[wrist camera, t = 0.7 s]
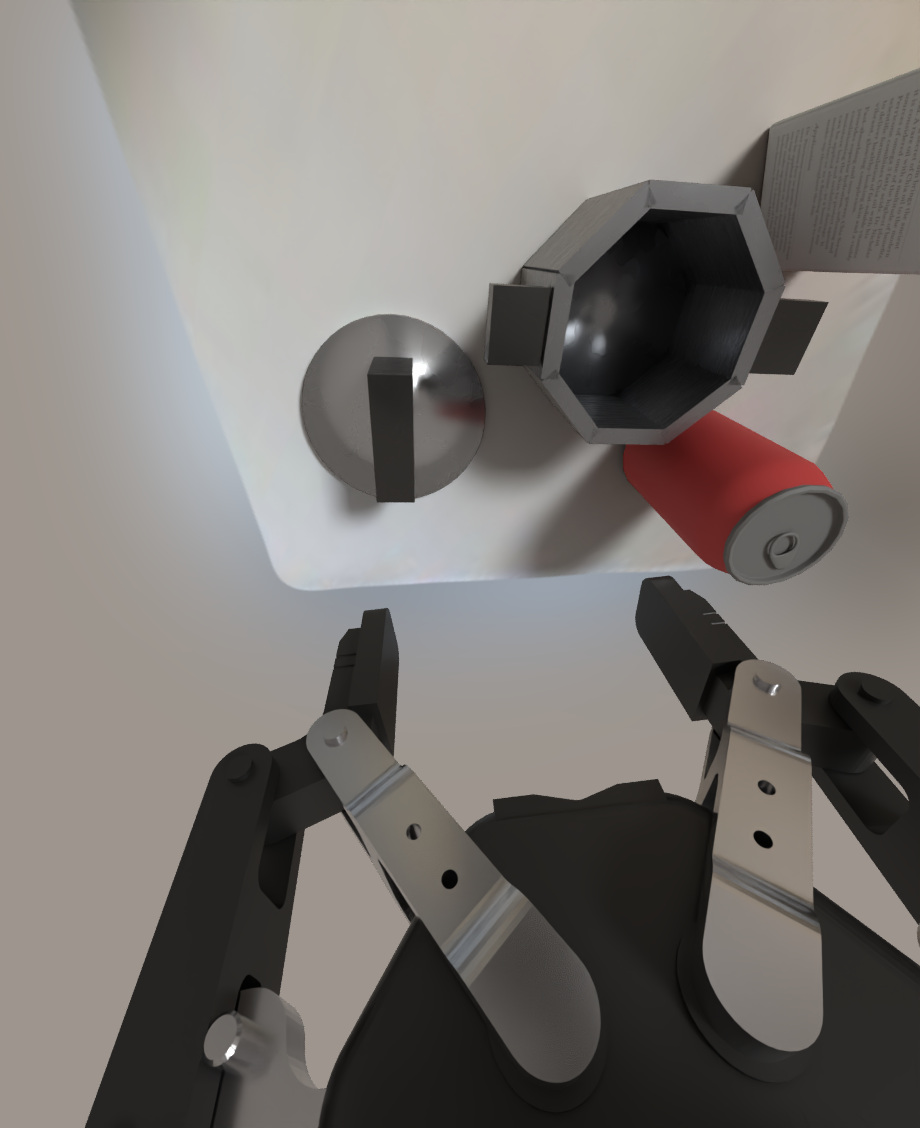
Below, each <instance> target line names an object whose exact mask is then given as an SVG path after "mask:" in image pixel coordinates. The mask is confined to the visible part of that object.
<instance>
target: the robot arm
mask: <svg viewBox="0 0 920 1128" xmlns="http://www.w3.org/2000/svg"><path fill="white" fill-rule="evenodd" d="M635 620H636V627H637V630H638V633H639V635H640V637H641V638H642V640H643V642H644V643H645V645H646V646H647V648H648V650H649V651H650V653H651V655H652V656H653V658H654V660H655V661H656V663H657V665H658V666H659V668H660V669H661V671H662V673H663V674H664V676H665V678H666V679H667V681H668V683H669V684H670V686H671V687H672V689H673V691H674V692H675V694H676V696H677V697H678V699H679V700H680V702H681V704H682V705H683V707H684V709H685V710H686V712H687V714H688V715H689V717H690V718H691V720H692V721H698V720H707V719H708V720H709V722H710V723H711V725H712V729H711V731H710V735H709V740H708V745H707V751H706V756H705V761H704V766H703V772H702V777H701V782H700V787H699V791H698V794H697V798H696V801H695V802H693V801H691V800H689V799H686V798H683V797H681V796H678V795H674V794H670V793H664V791H663V789H662V787H661V785H660V783H659V781H658V779H655V780H646V781H638V782H630V783H622V784H616V785H614V786H612V787H610V788H607V789H605V790H603V791H600V792H598V793H596V794H594V795H591V796H589V797H587V798H584V799H582V800H569V799H563V798H555V797H548V796H541V795H526V796H518V797H509V798H502V799H493V805H494V812H493V813H491V814H488V815H486V816H484V817H483V818H481V819H480V820H478V821H476V822H475V823H474V824H473V825H472V826H470V827H469V828H468V829H467V830H466V831H464V830H463V829H462V828H461V827H460V825H459V824H458V823H457V822H456V821H455V820H454V818H453V817H452V816H451V815H450V814H449V812H448V811H447V810H446V809H445V808H444V807H443V805H442V804H441V803H440V802H439V801H438V800H437V798H436V797H435V796H434V795H433V794H432V793H431V791H430V790H429V789H428V788H427V787H426V786H425V784H424V783H423V782H422V781H421V780H420V779H419V777H418V776H417V775H416V774H415V773H414V772H413V771H412V770H411V768H409V767H408V766H407V765H403V766H401V765H400V764H399V763H398V762H397V761H396V760H395V759H394V742H395V740H394V739H395V723H396V705H397V688H398V670H399V652H398V645H397V640H396V636H395V632H394V627H393V623H392V619H391V615H390V612H389V609H388V608H384V609H375V610H367V611H364V613H363V618H362V624H361V628H355V629H348V631H347V632H346V634H345V635H344V636H343V638H342V639H341V640H340V642H339V646H338V650H337V655H336V657H337V658H336V659H335V664H334V670H333V673H332V677H331V682H330V686H329V691H328V695H327V700H326V704H325V709H324V713H323V716H321V717H320V718H319V719H318V720H317V721H316V722H315V723H314V724H313V725H312V726H311V728H310V730H309V732H308V734H307V735H305V736H304V737H302V738H301V739H299V740H297V741H295V742H292V743H290V744H287V745H285V746H283V747H280V748H278V749H275V750H273V751H269V749H268V748H267V747H265V746H264V745H261V744H247V745H244V746H241V747H239V748H237V749H235V750H233V751H231V752H230V753H229V754H227V755H226V756H225V757H224V758H223V759H222V760H221V761H220V762H219V763H218V764H217V766H216V767H215V769H214V771H213V772H212V775H211V777H210V780H209V783H208V786H207V788H206V791H205V794H204V797H203V800H202V802H201V805H200V808H199V811H198V814H197V816H196V819H195V822H194V824H193V828H192V830H191V833H190V836H189V838H188V841H187V844H186V847H185V850H184V853H183V855H182V858H181V861H180V864H179V866H178V869H177V872H176V875H175V877H174V880H173V883H172V886H171V889H170V892H169V895H168V897H167V900H166V903H165V906H164V908H163V911H162V914H161V917H160V919H159V922H158V925H157V928H156V931H155V933H154V936H153V939H152V942H151V945H150V947H149V950H148V953H147V956H146V958H145V962H144V964H143V967H142V970H141V972H140V975H139V978H138V981H137V984H136V986H135V989H134V992H133V995H132V997H131V1000H130V1003H129V1006H128V1009H127V1011H126V1014H125V1017H124V1020H123V1023H122V1025H121V1028H120V1031H119V1034H118V1037H117V1039H116V1042H115V1045H114V1048H113V1050H112V1053H111V1056H110V1059H109V1062H108V1064H107V1067H106V1070H105V1073H104V1076H103V1078H102V1081H101V1084H100V1087H99V1089H98V1092H97V1095H96V1098H95V1101H94V1104H93V1106H92V1109H91V1112H90V1115H89V1117H88V1120H87V1123H86V1126H85V1128H920V966H919V965H918V964H917V963H915V962H914V961H913V960H911V959H910V958H909V957H907V956H906V955H904V954H903V953H901V952H900V951H899V950H897V949H896V948H895V947H894V946H892V945H891V944H890V943H888V942H887V941H886V940H884V939H883V938H882V937H880V936H879V935H877V934H876V933H875V932H873V931H872V930H871V929H870V928H868V927H867V926H865V925H864V924H863V923H861V922H860V921H859V920H857V919H856V918H855V917H853V916H852V915H851V914H849V913H848V912H846V911H845V910H844V909H842V908H841V907H840V906H839V905H837V904H836V903H834V902H833V901H832V900H830V899H829V898H828V897H826V896H825V895H824V894H822V893H821V892H820V891H818V890H817V889H816V888H814V887H813V849H812V848H813V846H812V777H813V778H814V779H815V781H816V782H817V784H818V785H819V786H820V788H821V789H822V790H823V792H824V793H825V795H826V796H827V798H828V799H829V800H830V802H831V803H832V805H833V806H834V807H835V809H836V810H837V812H838V813H839V814H840V816H841V817H842V818H843V820H844V821H845V823H846V824H847V825H848V827H849V828H850V830H851V831H852V833H853V834H854V835H855V837H856V838H857V840H858V841H859V842H860V844H861V845H862V847H863V848H864V849H865V851H866V852H867V853H868V855H869V856H870V858H871V859H872V861H873V862H874V863H875V865H876V866H877V867H878V869H879V870H880V872H881V873H882V875H883V876H884V877H885V879H886V880H887V882H888V883H889V884H890V886H891V887H892V889H893V890H894V891H895V893H896V894H897V896H898V897H899V898H900V899H901V901H902V902H903V904H904V905H905V907H906V908H907V909H908V911H909V912H910V914H911V915H912V917H913V918H914V919H915V921H916V922H917V924H918V925H919V926H918V930H917V939H918V943H919V947H920V707H919V706H918V705H917V704H916V703H915V702H914V701H913V700H912V699H910V697H909V696H907V694H905V693H904V692H903V691H902V690H901V689H900V688H898V687H897V686H895V685H894V684H892V683H890V682H888V681H886V680H884V679H882V678H880V677H877V676H874V675H871V674H866V673H861V672H850V673H845V674H843V675H841V676H840V677H839V679H838V680H837V682H836V683H835V685H827V684H820V683H813V682H805V681H799V680H797V679H796V678H795V677H794V676H793V675H792V674H791V673H790V672H788V671H787V670H786V669H784V668H782V667H781V666H778V665H776V664H774V663H771V662H768V661H764V660H758V659H757V658H756V656H755V655H754V654H753V653H752V652H751V651H750V650H749V648H747V646H746V645H745V644H744V643H743V642H742V640H741V639H740V638H739V637H738V636H737V635H736V634H735V632H734V631H733V630H732V629H731V628H730V627H729V626H728V624H725V621H724V620H723V619H722V618H721V617H720V615H719V614H716V611H715V610H714V609H713V607H712V606H711V605H710V604H709V603H708V602H707V601H706V600H705V599H704V598H702V597H701V596H699V595H697V594H696V593H694V592H693V591H691V590H683V589H682V588H681V587H680V586H679V584H678V583H677V582H676V581H675V579H674V578H673V577H671V576H662V577H653V578H646V579H644V580H643V582H642V585H641V590H640V595H639V600H638V605H637V610H636V616H635ZM876 758H878V759H879V761H880V762H881V763H882V764H883V765H884V766H885V768H886V769H887V770H888V771H889V772H890V773H891V774H892V775H893V777H894V778H895V779H896V780H897V781H898V782H899V783H900V785H901V786H902V787H903V789H904V790H905V792H906V794H907V796H908V799H909V801H908V800H907V799H906V798H905V797H904V796H903V794H902V793H901V792H900V791H899V790H898V788H897V787H896V786H895V785H894V784H893V783H892V781H891V780H890V779H889V778H888V777H887V776H886V774H885V773H884V772H883V771H882V770H881V769H880V768H879V766H878V765H877V764H876V763H875V762H874V761H875V760H876ZM339 812H340V813H341V814H342V816H343V817H344V819H345V820H346V822H347V824H348V825H349V827H350V828H351V830H352V832H353V833H354V835H355V836H356V838H357V839H358V841H359V843H360V844H361V846H362V847H363V849H364V851H365V852H366V854H367V855H368V856H369V858H370V860H371V862H372V863H373V865H374V866H375V868H376V870H377V871H378V873H379V875H380V877H381V879H382V880H383V882H384V884H385V885H386V887H387V889H388V890H389V892H390V894H391V895H392V897H393V898H394V900H395V902H396V903H397V905H398V906H399V908H400V910H401V911H402V913H403V914H404V916H405V918H406V919H407V921H408V922H409V924H410V926H409V928H408V930H407V931H406V933H405V935H404V937H403V939H402V941H401V943H400V944H399V946H398V948H397V950H396V952H395V953H394V955H393V957H392V959H391V961H390V963H389V964H388V967H387V968H386V970H385V972H384V974H383V976H382V977H381V979H380V981H379V983H378V985H377V986H376V988H375V990H374V992H373V994H372V996H371V997H370V999H369V1001H368V1003H367V1005H366V1006H365V1008H364V1010H363V1012H362V1014H361V1016H360V1017H359V1019H358V1021H357V1023H356V1025H355V1027H354V1028H353V1030H352V1032H351V1034H350V1036H349V1037H348V1039H347V1041H346V1043H345V1045H344V1047H343V1049H342V1050H341V1052H340V1054H339V1056H338V1059H337V1061H336V1063H335V1066H334V1068H333V1071H332V1073H331V1076H330V1079H329V1082H328V1085H327V1088H324V1089H318V1088H317V1087H316V1086H315V1085H314V1083H313V1082H312V1080H311V1078H310V1076H309V1074H308V1070H307V1066H306V1061H305V1032H304V1026H303V1022H302V1019H301V1017H300V1015H299V1013H298V1012H297V1010H296V1009H295V1008H294V1007H293V1006H291V1005H290V1004H289V1003H287V1002H286V1001H285V1000H283V999H282V998H281V997H279V994H280V988H281V981H282V975H283V968H284V962H285V954H286V948H287V942H288V935H289V928H290V922H291V915H292V909H293V902H294V896H295V890H296V883H297V877H298V870H299V864H300V857H301V851H302V844H303V837H304V831H305V829H306V828H308V827H310V826H312V825H314V824H316V823H318V822H320V821H322V820H324V819H326V818H329V817H331V816H332V815H335V814H337V813H339Z"/></svg>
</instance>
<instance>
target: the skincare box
mask: <svg viewBox="0 0 920 1128" xmlns="http://www.w3.org/2000/svg"><path fill="white" fill-rule="evenodd" d="M760 209H761V212H762V215H763V218H764V221H765V224H766V227H767V230H768V233H769V235H770V238H771V241H772V244H773V247H774V250H775V253H776V256H777V259H778V262H779V265H780V268H781V270H784V271H813V272H844V273H881V274H918V275H919V274H920V68H918V69H915V70H912V71H910V72H907V73H905V74H902V75H899V76H897V77H894V78H892V79H889V80H886V81H884V82H881V83H878V84H876V85H873V86H870V87H868V88H865V89H862V90H860V91H857V92H854V93H852V94H849V95H846V96H844V97H841V98H839V99H836V100H833V101H831V102H828V103H825V104H823V105H820V106H818V107H815V108H813V109H810V110H807V111H804V112H802V113H799V114H796V115H794V116H791V117H788V118H786V119H783V120H781V121H779V122H777V123H775V124H773V125H772V126H771V127H770V130H769V140H768V148H767V157H766V165H765V174H764V182H763V190H762V199H761V207H760Z"/></svg>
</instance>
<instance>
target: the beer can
mask: <svg viewBox="0 0 920 1128" xmlns="http://www.w3.org/2000/svg"><path fill="white" fill-rule="evenodd" d="M623 470H624V472H625V475H626V477H627V480H628V481H629V482H630V483H631V484H632V486H633V487H634V488H635V489H636V490H637V491H638V492H639V493H640V494H641V495H642V496H643V497H644V498H645V500H646V501H647V502H648V503H649V504H650V505H651V506H652V507H653V508H654V509H655V510H656V511H657V513H658V514H659V515H660V516H661V517H662V518H663V519H664V520H665V521H666V522H667V523H668V524H669V525H670V527H671V528H672V529H673V530H674V531H675V532H676V533H677V534H678V535H679V536H680V537H681V538H682V539H683V541H684V542H685V543H686V544H687V545H688V546H689V547H690V548H691V549H692V550H693V551H694V552H695V553H696V554H697V555H698V556H699V557H700V558H701V559H702V560H703V561H704V562H705V563H706V564H708V565H710V566H711V567H713V568H715V569H718V570H720V571H723V572H725V573H728V574H730V575H731V576H732V577H733V578H734V579H736V581H739V582H742V583H745V584H748V585H768V584H772V583H776V582H781V581H785V580H787V579H789V578H792V577H794V576H796V575H799V574H801V573H802V572H804V571H805V570H807V569H808V568H810V567H812V566H813V565H815V564H816V563H817V562H819V561H820V560H821V559H822V558H823V557H824V556H825V555H826V554H827V553H828V552H830V550H832V548H833V547H834V546H835V544H836V543H837V541H838V540H839V539H840V537H841V536H842V534H843V531H844V529H845V526H846V523H847V520H848V503H847V502H846V500H845V499H844V497H843V496H842V494H841V493H840V492H838V491H836V490H834V489H833V487H832V486H831V484H830V483H829V481H828V480H827V478H826V477H825V475H824V474H823V472H822V471H821V470H820V469H819V468H818V467H817V466H816V465H815V464H814V463H812V462H810V461H808V460H806V459H804V458H803V457H801V456H799V455H797V454H795V453H793V452H791V451H789V450H788V449H786V448H784V447H782V446H780V445H778V444H776V443H774V442H772V441H771V440H769V439H767V438H765V437H763V436H761V435H759V434H757V433H756V432H754V431H752V430H750V429H748V428H746V427H744V426H742V425H741V424H739V423H737V422H735V421H733V420H731V419H729V418H727V417H726V416H724V415H722V414H720V413H718V412H716V411H714V410H712V411H710V412H709V413H708V414H706V415H705V416H704V417H702V418H701V419H700V420H698V421H697V422H696V423H694V424H693V425H692V426H690V427H689V428H688V429H686V430H685V431H684V432H682V433H681V434H680V435H678V436H677V437H676V438H674V439H673V440H671V441H670V442H669V443H667V444H666V443H665V444H664V445H639V444H626V447H625V450H624V454H623Z"/></svg>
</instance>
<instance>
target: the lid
mask: <svg viewBox="0 0 920 1128" xmlns="http://www.w3.org/2000/svg"><path fill="white" fill-rule="evenodd" d="M302 410H303V418H304V422H305V426H306V430H307V433H308V435H309V438H310V441H311V442H312V444H313V446H314V448H315V450H316V452H317V453H318V455H319V456H320V458H321V459H322V461H323V462H324V463H325V464H326V465H327V466H328V468H329V469H330V470H331V471H332V472H333V473H335V474H336V475H337V476H338V477H339V478H340V479H342V480H343V481H344V482H346V483H347V484H349V485H351V486H352V487H354V488H356V489H358V490H360V491H362V492H365V493H367V494H370V495H374V496H376V499H377V502H415V498H417V497H422V496H425V495H428V494H431V493H433V492H436V491H438V490H440V489H442V488H443V487H445V486H447V485H448V484H450V483H451V482H452V481H453V480H455V479H456V478H457V477H458V476H459V475H460V474H461V473H462V472H463V471H464V470H465V469H466V467H467V466H468V465H469V464H470V462H471V461H472V459H473V457H474V455H475V454H476V452H477V449H478V447H479V445H480V442H481V438H482V435H483V431H484V424H485V403H484V395H483V391H482V387H481V384H480V381H479V379H478V376H477V373H476V371H475V369H474V368H473V366H472V364H471V362H470V360H469V359H468V357H467V356H466V355H465V353H464V352H463V350H462V349H461V348H460V347H459V346H458V345H457V344H456V343H455V342H454V341H453V340H452V339H451V338H450V337H449V336H447V335H446V334H445V333H444V332H442V331H441V330H439V329H438V328H436V327H434V326H433V325H431V324H429V323H426V322H424V321H422V320H419V319H416V318H412V317H409V316H405V315H396V314H378V315H373V316H368V317H364V318H361V319H358V320H355V321H353V322H351V323H349V324H347V325H345V326H343V327H342V328H340V329H339V330H338V331H336V332H335V333H334V334H333V335H331V336H330V337H329V338H328V339H327V341H326V342H325V343H324V344H323V345H322V346H321V347H320V349H319V350H318V351H317V353H316V354H315V356H314V357H313V359H312V361H311V363H310V365H309V367H308V371H307V374H306V377H305V380H304V386H303V391H302Z"/></svg>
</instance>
